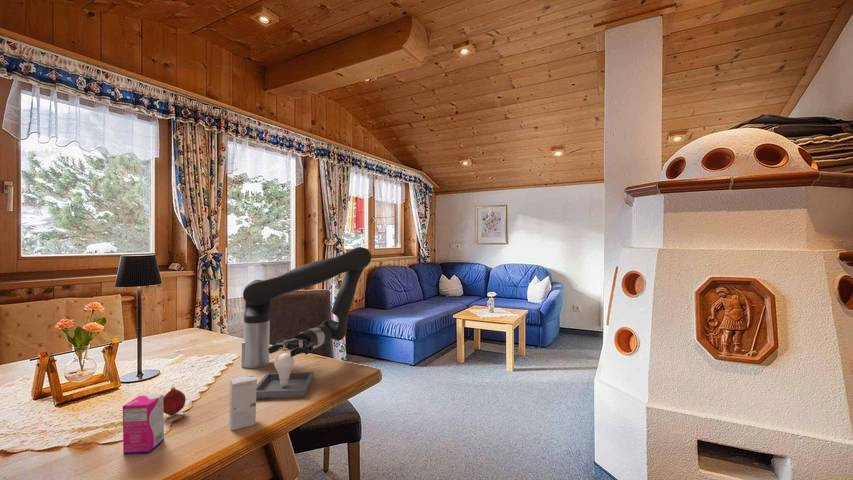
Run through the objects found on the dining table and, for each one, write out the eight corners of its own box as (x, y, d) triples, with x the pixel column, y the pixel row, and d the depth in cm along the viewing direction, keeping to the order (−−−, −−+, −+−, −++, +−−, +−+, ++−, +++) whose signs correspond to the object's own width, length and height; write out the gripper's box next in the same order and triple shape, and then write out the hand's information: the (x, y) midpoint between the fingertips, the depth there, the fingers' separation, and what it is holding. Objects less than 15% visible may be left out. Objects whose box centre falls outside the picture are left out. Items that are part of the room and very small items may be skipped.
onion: (190, 412, 103) (190, 384, 103) (170, 422, 98) (170, 392, 98) (175, 409, 105) (175, 381, 105) (155, 418, 100) (155, 389, 100)
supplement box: (139, 441, 89) (139, 394, 89) (164, 440, 89) (165, 393, 89) (121, 455, 83) (121, 405, 83) (148, 454, 83) (149, 404, 83)
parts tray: (250, 400, 112) (250, 392, 112) (266, 380, 128) (267, 373, 128) (304, 397, 114) (304, 389, 114) (313, 378, 130) (313, 371, 130)
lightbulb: (297, 383, 124) (297, 351, 124) (288, 390, 118) (289, 356, 118) (279, 382, 124) (280, 350, 124) (270, 389, 118) (271, 356, 118)
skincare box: (230, 431, 94) (231, 384, 94) (228, 424, 97) (229, 378, 97) (256, 424, 97) (257, 379, 97) (253, 417, 101) (254, 374, 101)
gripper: (293, 327, 136) (262, 338, 121) (326, 331, 132) (299, 342, 117) (293, 347, 136) (261, 360, 121) (326, 352, 132) (298, 366, 117)
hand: (280, 352), depth 119 cm, fingers open, 8 cm apart
